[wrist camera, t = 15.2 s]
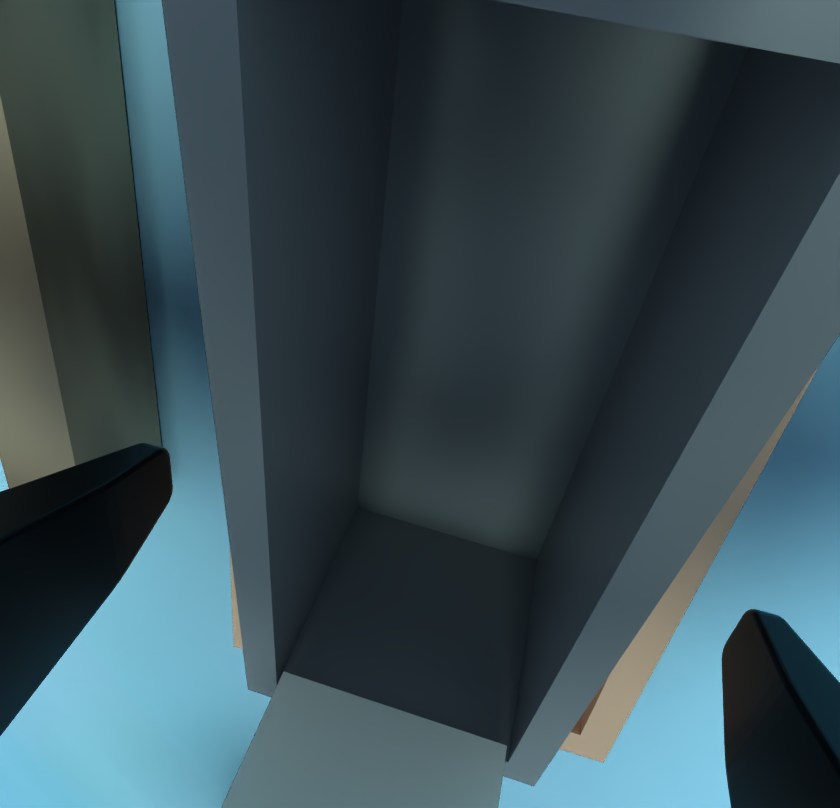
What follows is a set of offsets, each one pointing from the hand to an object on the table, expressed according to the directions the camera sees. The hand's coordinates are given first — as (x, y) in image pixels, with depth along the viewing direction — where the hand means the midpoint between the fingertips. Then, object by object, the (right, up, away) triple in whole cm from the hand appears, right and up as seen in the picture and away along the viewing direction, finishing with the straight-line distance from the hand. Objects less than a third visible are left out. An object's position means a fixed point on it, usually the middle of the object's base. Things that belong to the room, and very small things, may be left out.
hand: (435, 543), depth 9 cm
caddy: (+1, +4, +2) cm, 4 cm away
